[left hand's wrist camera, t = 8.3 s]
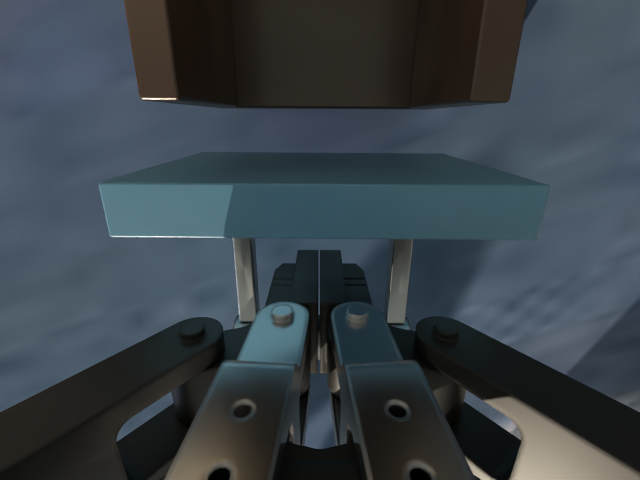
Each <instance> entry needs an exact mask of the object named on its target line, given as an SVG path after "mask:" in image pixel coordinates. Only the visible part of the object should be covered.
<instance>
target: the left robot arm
mask: <svg viewBox="0 0 640 480" xmlns="http://www.w3.org/2000/svg"><path fill="white" fill-rule="evenodd" d="M310 374H318V250H298V253H297V259H296V264H282V265H281V266H279V267H278V268H277V269H276V270H275V272H274V276H273V280H272V283H271V287H270V291H269V294H268V298H267V301H266V305H265V307H263V308H262V309H260V310H259V311H258V313H257V314H256V317H255V319H254V321H253V323H251V324H249V325H246V326H243V327H240V328H236V329H231V330H226V331H223V327H222V325H221V323H220V322H219V321H217V320H215V319H212V318H207V317H197V318H191V319H187V320H184V321H181V322H179V323H177V324H175V325H173V326H171V327H169V328H167V329H165V330H163V331H161V332H159V333H157V334H155V335H153V336H151V337H149V338H147V339H145V340H143V341H141V342H139V343H137V344H135V345H133V346H131V347H129V348H127V349H125V350H123V351H121V352H119V353H117V354H115V355H113V356H111V357H109V358H107V359H105V360H103V361H101V362H99V363H97V364H95V365H93V366H91V367H89V368H88V369H86V370H84V371H82V372H80V373H78V374H76V375H74V376H72V377H70V378H68V379H66V380H64V381H62V382H60V383H58V384H56V385H54V386H52V387H50V388H48V389H46V390H44V391H42V392H40V393H38V394H36V395H34V396H32V397H30V398H28V399H26V400H24V401H22V402H20V403H18V404H16V405H14V406H12V407H10V408H8V409H6V410H4V411H2V412H0V480H640V412H638V411H636V410H634V409H632V408H630V407H628V406H626V405H624V404H622V403H620V402H618V401H616V400H614V399H612V398H610V397H608V396H606V395H604V394H602V393H600V392H598V391H596V390H594V389H592V388H590V387H588V386H586V385H584V384H582V383H580V382H578V381H576V380H574V379H572V378H570V377H568V376H566V375H564V374H562V373H560V372H558V371H556V370H554V369H552V368H550V367H549V366H547V365H545V364H543V363H541V362H539V361H537V360H535V359H533V358H531V357H529V356H527V355H525V354H523V353H521V352H519V351H517V350H515V349H513V348H511V347H509V346H507V345H505V344H503V343H501V342H499V341H497V340H495V339H493V338H491V337H489V336H487V335H485V334H483V333H481V332H479V331H477V330H475V329H473V328H471V327H469V326H467V325H465V324H463V323H461V322H459V321H457V320H454V319H451V318H446V317H428V318H424V319H422V320H421V321H419V322H418V324H417V326H416V331H411V330H406V329H401V328H397V327H394V326H391V325H389V324H388V323H387V321H386V319H385V317H384V314H383V313H382V311H381V310H380V309H378V308H377V307H375V306H373V305H372V302H371V298H370V295H369V291H368V287H367V283H366V280H365V276H364V272H363V270H362V269H361V268H360V267H359V266H358V265H356V264H342V259H341V252H340V250H320V374H327V382H328V387H329V389H330V404H331V412H332V420H333V428H334V436H335V444H336V446H334V447H330V448H326V449H314V448H310V447H306V446H304V444H305V436H306V428H307V420H308V412H309V404H310ZM466 390H468V391H469V392H471V393H472V394H474V395H475V396H477V397H478V398H480V399H482V400H483V401H485V402H486V403H488V404H489V405H491V406H492V407H494V408H495V409H497V410H498V411H500V412H501V413H503V414H504V415H506V416H507V417H509V418H510V419H511V420H512V421H513V422H514V423H515V425H516V426H517V428H518V429H519V431H520V434H521V440H519V439H518V438H516V437H515V436H513V435H512V434H511V433H509V432H508V431H506V430H505V429H503V428H502V427H500V426H499V425H497V424H496V423H495V422H493V421H492V420H490V419H489V418H487V417H486V416H484V415H483V414H481V413H480V412H478V411H477V410H476V409H474V408H473V407H471V406H470V405H468V404H467V403H465V402H464V398H465V393H466ZM169 392H172V396H173V401H174V403H173V404H172V405H170V406H169V407H167V408H166V409H164V410H163V411H161V412H160V413H159V414H157V415H156V416H154V417H153V418H151V419H150V420H148V421H147V422H145V423H144V424H143V425H141V426H140V427H138V428H137V429H135V430H134V431H132V432H131V433H129V434H128V435H127V436H125V437H124V438H122V439H121V440H119V441H118V442H116V439H117V435H118V432H119V430H120V429H121V427H122V426H123V425H124V423H125V422H126V421H127V420H129V419H130V418H131V417H133V416H134V415H136V414H137V413H139V412H140V411H142V410H143V409H145V408H146V407H148V406H149V405H151V404H152V403H154V402H155V401H157V400H158V399H160V398H162V397H163V396H165V395H166V394H168V393H169Z"/></svg>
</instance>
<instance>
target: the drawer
mask: <svg viewBox="0 0 640 480" xmlns="http://www.w3.org/2000/svg"><path fill="white" fill-rule="evenodd" d="M527 1H528V0H124V2H125V9H126V15H127V21H128V27H129V33H130V40H131V46H132V52H133V58H134V64H135V71H136V77H137V83H138V89H139V95H140V98H141V99H142V100H145V101H155V102H165V103H175V104H185V105H195V106H205V107H216V108H279V109H436V108H447V107H459V106H471V105H483V104H494V103H506V102H508V101H509V99H510V94H511V89H512V83H513V78H514V72H515V67H516V61H517V56H518V50H519V45H520V39H521V34H522V28H523V23H524V17H525V12H526V6H527ZM549 188H550V187H549V185H546V184H543V183H540V182H536V181H533V180H530V179H526V178H523V177H519V176H516V175H513V174H509V173H506V172H503V171H499V170H496V169H492V168H489V167H486V166H482V165H479V164H476V163H472V162H469V161H465V160H462V159H459V158H455V157H452V156H449V155H445V154H403V153H253V152H202V153H199V154H195V155H192V156H189V157H185V158H182V159H178V160H175V161H171V162H168V163H164V164H161V165H157V166H154V167H150V168H147V169H143V170H140V171H136V172H133V173H129V174H126V175H122V176H119V177H115V178H112V179H108V180H105V181H101V182H99V189H100V193H101V198H102V202H103V207H104V212H105V216H106V221H107V225H108V230H109V235H110V236H111V237H192V238H232V242H233V254H234V265H235V277H236V288H237V300H238V311H239V315H237V317H236V319H235V322H234V325H233V329H236V328H240V327H243V326H246V325H249V324H251V323H253V321H254V319H255V317H256V314H257V313H258V311H259V295H258V279H257V263H256V247H255V238H320V239H390V246H389V258H388V271H387V283H386V295H385V308H384V317H385V319H386V321H387V323H388V324H389V325H391V326H394V327H397V328H401V329H406V330H411V328H410V324H409V321H408V319H407V317H406V316H405V314H406V305H407V295H408V286H409V276H410V267H411V257H412V248H413V239H448V240H537V239H538V234H539V230H540V226H541V222H542V218H543V213H544V209H545V205H546V201H547V197H548V192H549ZM318 360H320V315H318Z"/></svg>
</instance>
